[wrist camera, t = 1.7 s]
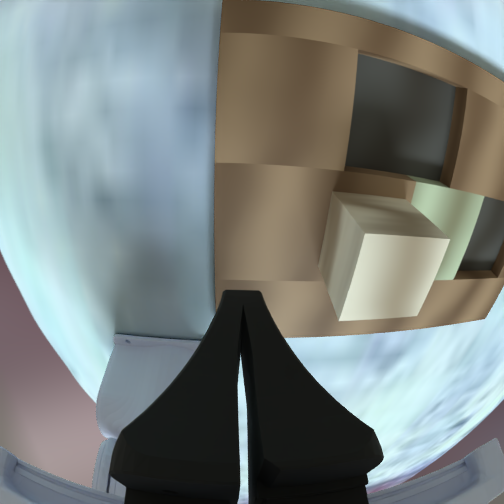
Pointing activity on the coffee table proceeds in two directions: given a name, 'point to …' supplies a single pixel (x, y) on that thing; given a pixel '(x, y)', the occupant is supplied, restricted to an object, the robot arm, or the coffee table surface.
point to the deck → (350, 158)
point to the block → (378, 256)
